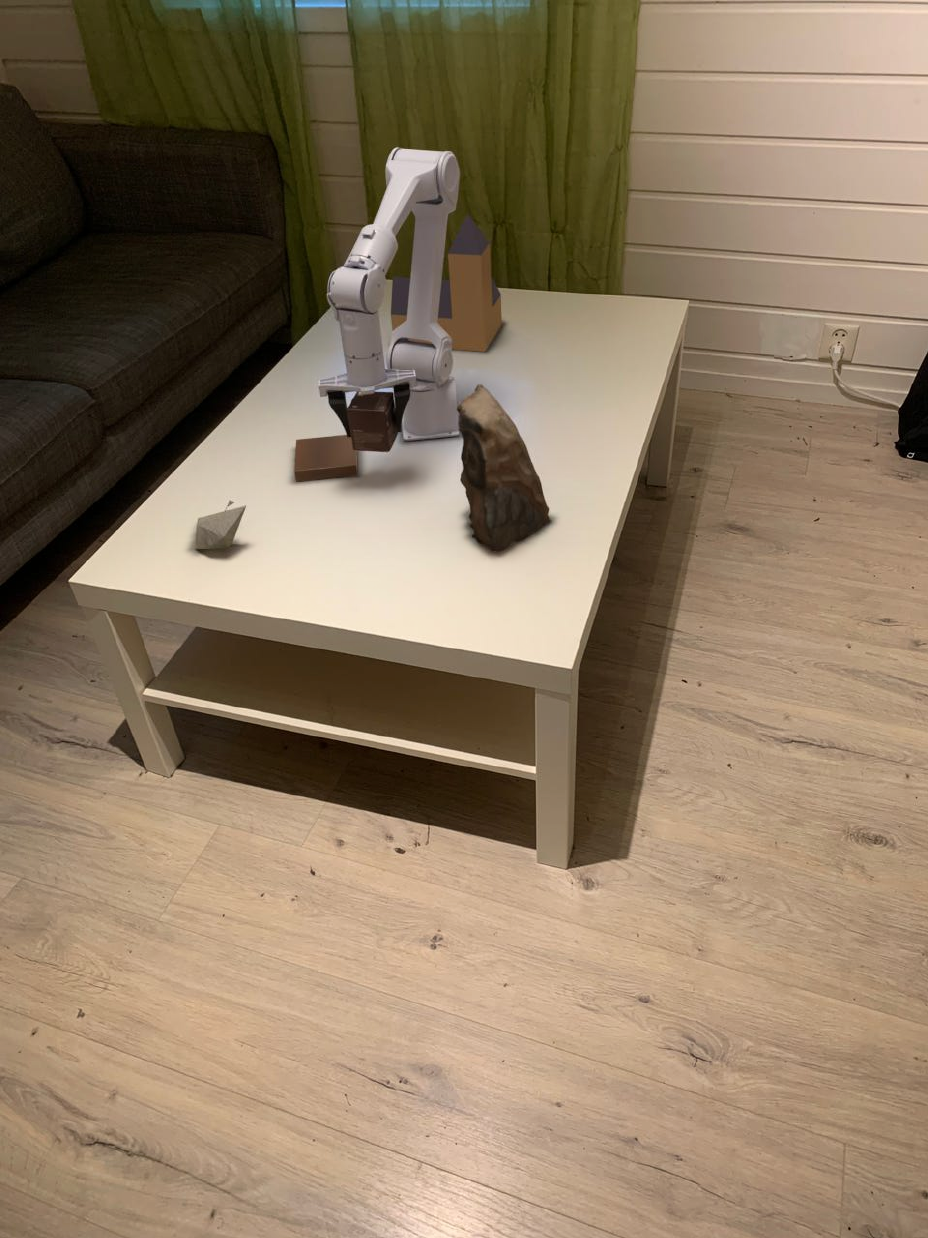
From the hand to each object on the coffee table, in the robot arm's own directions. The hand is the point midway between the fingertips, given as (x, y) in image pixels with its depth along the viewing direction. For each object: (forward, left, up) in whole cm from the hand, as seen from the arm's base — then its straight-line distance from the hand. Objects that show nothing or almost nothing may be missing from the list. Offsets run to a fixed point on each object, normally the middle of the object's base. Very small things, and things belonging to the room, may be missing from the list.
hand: (373, 431), depth 156 cm
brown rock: (-18, +16, -9) cm, 26 cm away
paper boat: (+24, +13, -9) cm, 28 cm away
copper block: (+9, -7, -9) cm, 14 cm away
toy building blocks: (-15, -51, -9) cm, 54 cm away
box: (0, 0, -2) cm, 2 cm away
